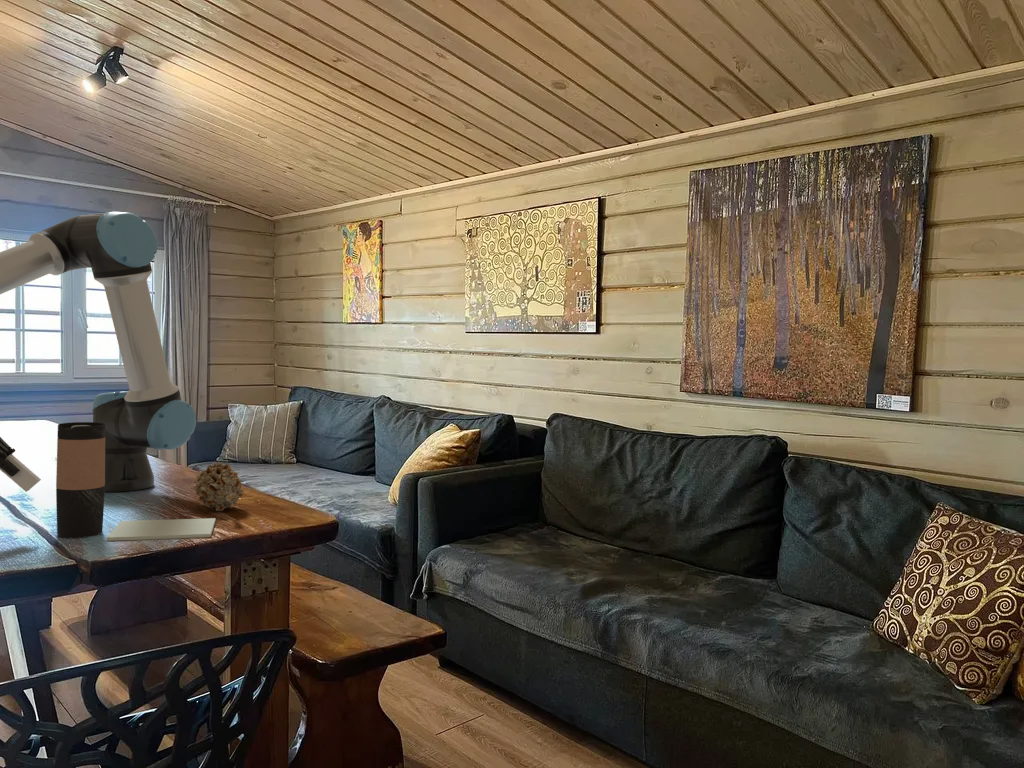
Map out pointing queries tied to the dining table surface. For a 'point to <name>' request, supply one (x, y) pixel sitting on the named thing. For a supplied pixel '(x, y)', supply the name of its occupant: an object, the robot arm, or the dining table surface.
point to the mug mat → (162, 529)
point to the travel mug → (80, 479)
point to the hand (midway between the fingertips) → (33, 485)
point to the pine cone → (218, 486)
